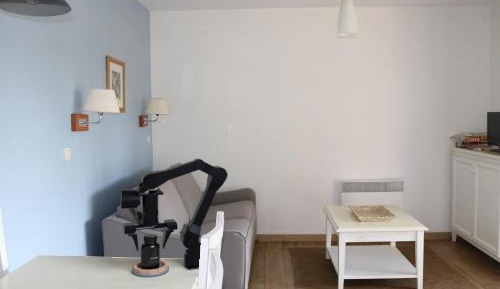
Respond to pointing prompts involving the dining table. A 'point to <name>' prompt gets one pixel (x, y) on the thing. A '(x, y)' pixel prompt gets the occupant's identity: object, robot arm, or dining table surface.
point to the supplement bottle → (150, 252)
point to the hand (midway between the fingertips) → (150, 249)
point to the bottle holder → (150, 273)
